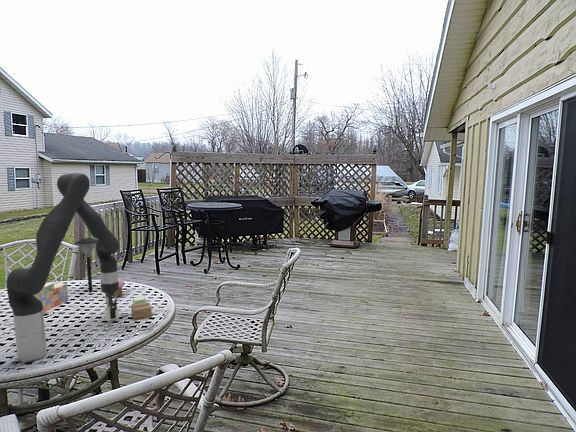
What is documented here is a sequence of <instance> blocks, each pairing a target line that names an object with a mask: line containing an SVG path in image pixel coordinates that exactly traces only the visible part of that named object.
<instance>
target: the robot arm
mask: <svg viewBox="0 0 576 432" xmlns="http://www.w3.org/2000/svg"><path fill="white" fill-rule="evenodd" d="M90 184H91V182H90V178H89V177H88V176H87V175H86V174H85V173H81V172H77V173H76V172H74V173H66V174H62V175H60V176H59V177H58V179H57V182H56V187H57V190H58V191H59V193H60V194H61V196H63V197H62V199H61V200H60V201H59V203H58V204H57V205H56V206H54V208H52V209H51V210H50V211H49V212H48V213H47V214H46V215H45V216H44V217H43V219H42V221H41V223H40V225H39V227H38V230H37V231H36V236H35V241H36V242H35V243H36V256H35V258H34V260H33V263H32V265H31V266H30V268H22V267H21V268H20V267H18V268H15V269H13V270H12V271H10V273H9V274H8V276H7V278H6V292H7V298H8V304H9V307H10V309H11V310H12V316H13V325H14V337H15V346H16V347H15V348H16V357H17V360H18V361H19V362H22V363H23V364H24V363H27V362H31V361H36V360H40V359H43V357H45V355H47V352H48V351H47V341H46V340H47V339H46V329H45V328H46V327H45V318H44V317H45V316H44V312H43V304H42V302H41V301H40V300H38V299H37V298H36V297H35V296H34V295H35V294H38V293H39V292H40V291H41V290H42V289H43V288H44V286H45V284H46V283H47V281H48V277H49V276H50V272H51V269H52V266H53V263H54V261H55V258H56V257H57V253H58V252H59V249H60V247H61V245H62V242H63V241H64V238H65V236H66V235H67V233H68V230H69V227H70V225H71V223H72V221H73V218H75V215H76V213H77V214H78V216H79V217H80V218H81V220H82V222H83V223H84V225H85V226H86V228H87V230H88V232H89V233H90V236H92V238H93V239H96V240H98V241H97V242H96V244H95V252H96V255H97V258H98V261H99V267H100V269H99V270H100V276H99V277H100V290H101V291H100V292H101V293H103V294H104V295H105V297H104V298H105V304H106V307H109V308H110V318H111V319H113V318H116V311H115V310H117V307H118V305H117V303H118V302H117V301H118V299H117V297H116V295H115V293H114V292H116V291H118V290H119V278H120V277H119V272H118V261H117V259H116V258H115V257H114V256H113V255H114V254H116V253H117V252H118V251H119V249H120V243H119V241H118V238H117V237H116V236H115V234H114V233H112V231H111V230H110V229H108V226H107V225H106V223H105V221H104V219H103V218H102V216H101V214H100V213H99V212H98V211H96V210H95V209H94V208H93V207H92V206H91V205H90V204H88V202H87V201H86V200H85V198H86V196H87V195H88V192H89V190H90V187H91V186H90ZM112 254H113V255H112ZM113 306H114V308H112V307H113Z"/></svg>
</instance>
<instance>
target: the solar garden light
mask: <svg viewBox="0 0 576 432" xmlns="http://www.w3.org/2000/svg"><path fill="white" fill-rule="evenodd" d="M97 241H98V239H97V238H94V237H85V238H81V239H79V240H77V241H76V242H74V244H75V245H78V246H79V247H80V249H81V250H82V253H83V255H84V256H85V257H86V271H87V282H88V283H87V285H88V292H89V293H92V291H93V281H92V267H91V264H92V263H91V257H92V253H93V251H94V250H95V247H96V242H97Z"/></svg>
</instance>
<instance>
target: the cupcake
mask: <svg viewBox="0 0 576 432" xmlns="http://www.w3.org/2000/svg"><path fill="white" fill-rule="evenodd" d="M118 278H119V290H118V291H116V292H114V293H115V295H116V298H118V297H120V296H121V295H123V287H124V286H125V282H124V280H123V279H122V278H120V277H118Z"/></svg>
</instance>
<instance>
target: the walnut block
mask: <svg viewBox="0 0 576 432" xmlns="http://www.w3.org/2000/svg"><path fill="white" fill-rule="evenodd" d="M130 307H131V309H130V310H131V316H132V320H133V321H137V320H138V321H139V320H143V319H149V318H152V317H153V315H152V314H153V312H152V306H151V304H150V302H149V301H148V302H147V301H146V303H140V304H134V305H133V304H131V305H130Z"/></svg>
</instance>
